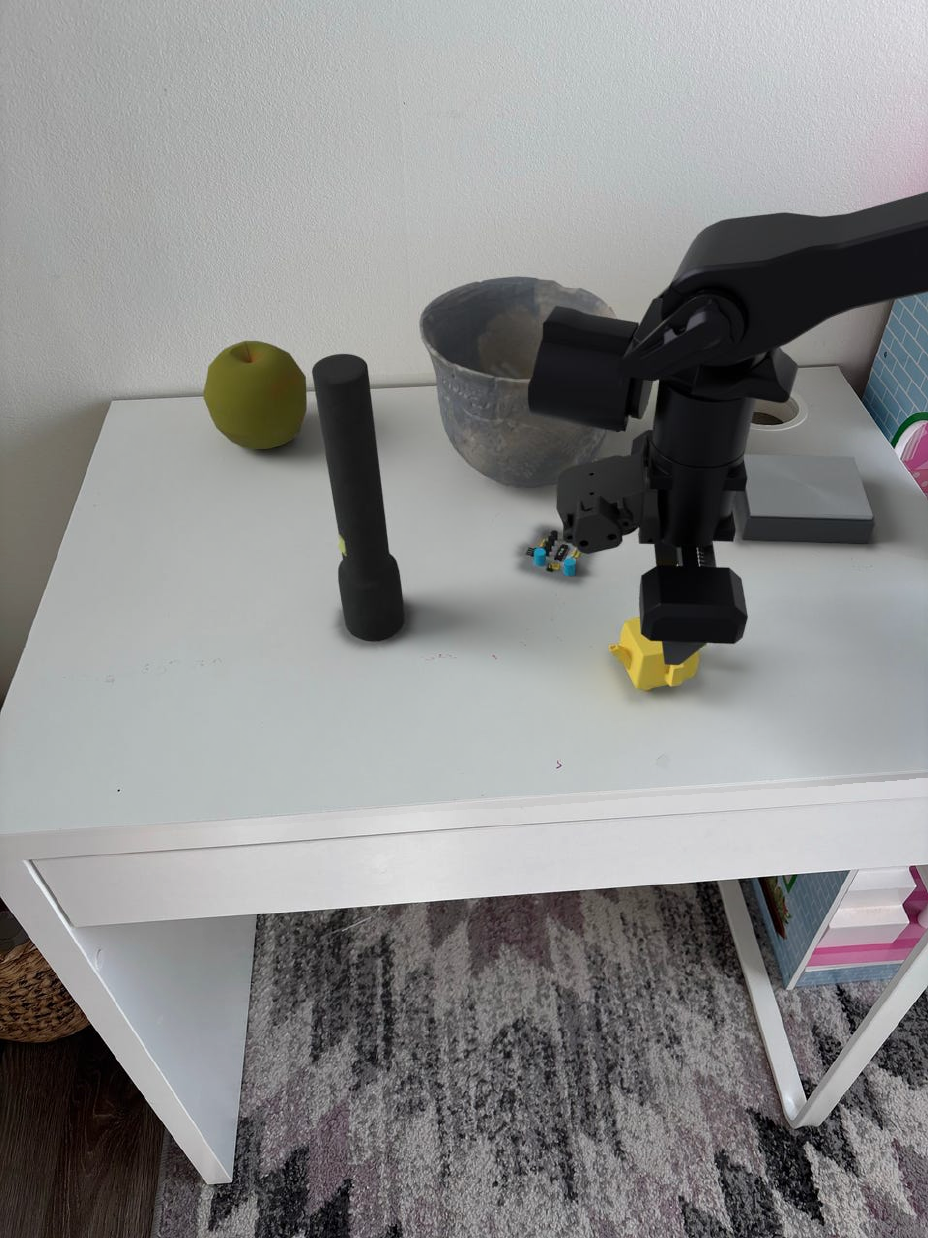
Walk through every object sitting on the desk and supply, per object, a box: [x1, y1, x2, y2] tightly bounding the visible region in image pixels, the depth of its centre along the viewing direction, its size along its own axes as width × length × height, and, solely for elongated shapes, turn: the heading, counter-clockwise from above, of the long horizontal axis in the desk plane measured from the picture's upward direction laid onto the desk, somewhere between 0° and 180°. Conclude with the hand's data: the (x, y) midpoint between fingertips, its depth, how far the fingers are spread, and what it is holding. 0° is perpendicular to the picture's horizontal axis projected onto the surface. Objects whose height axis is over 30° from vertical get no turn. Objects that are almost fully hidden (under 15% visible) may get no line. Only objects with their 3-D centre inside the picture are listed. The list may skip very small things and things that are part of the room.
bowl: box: [418, 275, 618, 489], centre depth 89 cm, size 18×18×15 cm
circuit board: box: [525, 529, 582, 577], centre depth 85 cm, size 5×2×5 cm
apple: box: [202, 340, 308, 450], centre depth 95 cm, size 10×10×11 cm
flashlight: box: [311, 353, 406, 642], centre depth 72 cm, size 5×24×5 cm
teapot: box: [607, 616, 708, 691], centre depth 74 cm, size 8×6×5 cm
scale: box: [734, 453, 876, 544], centre depth 88 cm, size 11×9×3 cm
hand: (667, 615), depth 70 cm, fingers open, 9 cm apart
